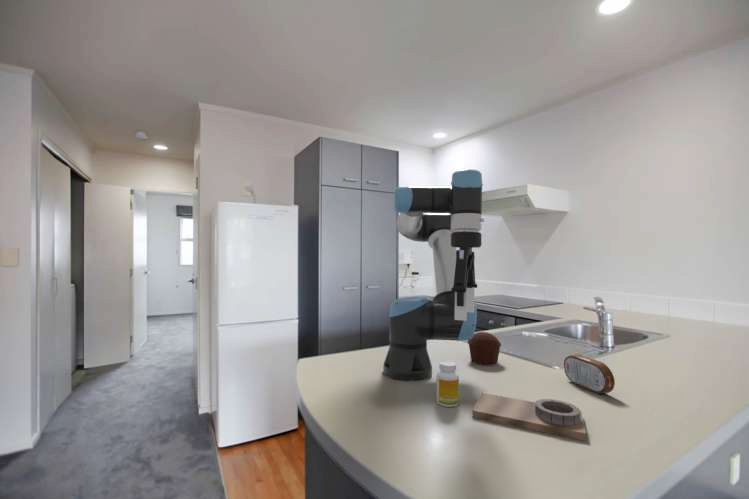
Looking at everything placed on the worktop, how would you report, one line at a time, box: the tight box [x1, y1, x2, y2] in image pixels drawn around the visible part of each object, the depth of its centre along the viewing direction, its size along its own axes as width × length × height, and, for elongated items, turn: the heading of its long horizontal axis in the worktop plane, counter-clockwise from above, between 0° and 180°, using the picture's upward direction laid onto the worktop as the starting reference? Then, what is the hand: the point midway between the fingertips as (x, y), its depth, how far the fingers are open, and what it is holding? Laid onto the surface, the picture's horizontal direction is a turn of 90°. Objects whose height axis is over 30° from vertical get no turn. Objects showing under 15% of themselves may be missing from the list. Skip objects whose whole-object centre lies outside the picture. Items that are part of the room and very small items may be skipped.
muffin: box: [467, 331, 502, 366], centre depth 123 cm, size 12×11×10 cm
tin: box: [563, 353, 616, 395], centre depth 99 cm, size 15×3×8 cm, turn 15°
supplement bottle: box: [435, 360, 460, 408], centre depth 87 cm, size 5×5×10 cm
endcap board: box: [471, 392, 587, 442], centre depth 79 cm, size 22×12×4 cm, turn 64°
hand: (465, 316), depth 89 cm, fingers open, 13 cm apart
